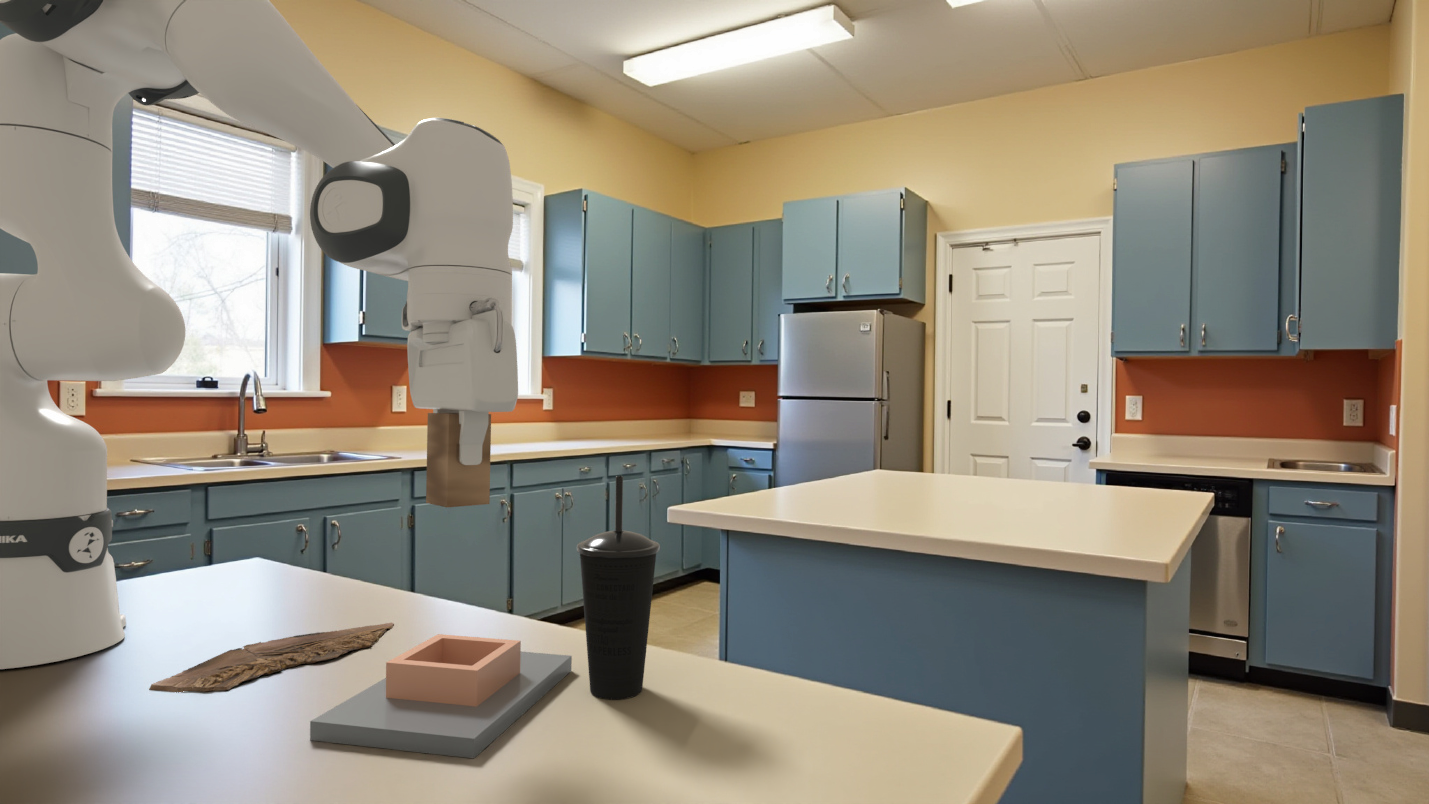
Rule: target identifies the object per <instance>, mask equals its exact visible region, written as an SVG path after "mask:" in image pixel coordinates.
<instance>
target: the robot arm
mask: <svg viewBox="0 0 1429 804" xmlns="http://www.w3.org/2000/svg"><path fill="white" fill-rule="evenodd" d="M0 23H1V24H2V25H3V26H5V27H6V28H8V29H9V30H10V31H12V32H14V33H12V34H8V35H5V36H4V37H2V38H1V39H0V229H1V230H2V231H4V232H5V233H7V234H10V235H11V236H13V237H15V238H17V239H20V240H21V241H22V242H23V241H24V242H26V243H27V244H30V246H31V248H32V249H33V251H34V254H35V258H36V262H37V273H35V274H27V273H26V274H23V273H5V272H3V273H1V272H0V670H5V669H6V670H7V669H15V668H24V667H31V666H32V667H33V666H38V665H44V664H49V663H54V662H60V661H65V660H69V659H75V658H77V657H82V656H84V655H88V654H92V653H95V652H99V651H101V650H104V649H107V648H109V647H112V646H114V645H115V644H117V643H119V642H121V641H122V640H123V639H124V638H125V636H126V633H125V631H124V627H125V626H126V625H127V619H126V615H125V614H121V610H120V602H119V595H118V594H119V593H118V586H117V584H118V583H117V577H116V570H115V569H116V568H115V562H114V561H115V560H114V558H113V556H112V555H111V554H110V552H109V548H108V547H109V544H110V543H111V542H112V540H113V528H114V520H113V519H112V518H113V517H112V516H113V515H112V510H111V509H110V508H109V507H108V504H107V503H108V446H107V444H106V441H105V439H104V438H103V436H102V435H101V434H100V433H99V431H98V430H96V428H94V427H93V426H92V425H90V424H89V423H86V422H85V421H82V420H80V419H78V418H76V417H74V416H71V415H68V414H67V413H65V412H63V411H62V410H61V409H60V408H59V407H58V406H57V405H56V403H55V401H54V400H53V398H52V396H51V394H50V390H49V386H48V381H72V382H73V381H74V382H76V381H79V382H81V381H82V382H87V381H88V382H117V381H124V380H125V381H126V380H131V379H138V378H139V379H140V378H143V377H144V378H145V377H150V376H155V375H161V374H163V373H164V372H167V370H168V369H170V368H171V367H172V365H173V364H174V363H175V362H176V361H177V359H178V358H179V356H180V354H181V353H182V350H183V348H184V344H185V341H186V324H185V320H184V316H183V314H182V312H181V309H180V308H179V306H178V304H177V303H176V301H175V300H174V299H173V297H172V296H171V295H170V294H169V293H168V292H166V290H164V289H163V288H162V287H160V286H159V285H157V284H156V283H155V282H153V281H152V280H150V279H149V278H148V277H147V276H146V275H145V274H144V273H143V272H142V271H141V270H140V269H139V268H138V266H136V265H135V263H134V262H133V260H132V259H131V258H130V256H129V255H128V253H127V251H126V249H125V247H124V246H123V242H122V241H121V239H120V238H121V237H120V235H119V234H118V230H117V226H116V222H115V220H116V219H115V213H114V198H113V196H114V195H113V194H114V193H113V153H114V151H113V120H114V119H113V118H114V112H115V108H116V106H117V104H118V103H119V101H121V99H123V98H124V97H125V96H126V95H127V94H128V95H129V96H130V97H131V98H132V99H133V100H134V101H136V102H137V103H138V104H140V105H143V106H155V105H157V104H158V103H161V102H162V101H164V100H180V99H187V98H191V97H193V96H195V95H198V94H200V95H201V96H202V97H203V98H205V99H206V100H207V101H208V102H209V103H211V104H213V106H215V107H216V108H218V109H219V110H220V111H221V112H222V113H225V114H226V115H228V116H229V117H231V118H233V119H235V120H237V121H238V122H241V123H242V124H245V125H247V126H249V127H252V128H254V129H256V130H259V131H261V132H263V133H266V134H268V135H269V136H273V137H275V138H277V139H280V140H281V141H284V142H286V143H288V144H290V145H293V146H294V147H296V148H298V149H301V150H303V151H305V152H307V153H309V154H310V155H312V156H313V157H315V158H317V159H319V160H320V161H322V162H323V163H326V164H327V165H328V166H329V167H331V169H330V170H329V171H328V172H327V173H325V174H324V175H323V176H322V178H321V179H320V180H319V182H318V184H317V185H316V187H315V189H314V192H313V194H312V197H311V200H310V202H311V203H310V208H309V219H310V220H309V221H310V226H311V231H312V234H313V237H314V239H315V241H316V243H317V245H318V247H319V248H320V249H321V251H322V252H323V253H324V254H325V255H326V256H327V257H328V258H330V259H331V260H333V261H335V262H338V263H340V264H343V265H344V266H347V267H350V268H353V269H357V270H361V271H365V272H369V273H373V274H376V275H380V276H383V277H387V278H391V279H392V278H393V279H396V280H400V281H401V280H402V281H406V282H407V286H408V287H407V294H406V301H405V304H404V306H403V307H402V310H401V329H402V330H404V331H408V332H409V334H408V335H407V347H406V348H407V364H408V365H407V367H408V368H407V369H408V381H409V382H408V383H409V385H408V386H409V393H410V397H411V401H412V405H413V407H414V408H416V409H426V410H432V411H433V412H432V413H459V424H461V430H460V440H459V444H457V456H456V458H457V462H458V463H460V464H463V465H478V464H480V463H481V461H482V444H483V441H484V438H485V434H486V431H487V428H488V414H490V413H502V412H503V413H509V412H513V411H514V410H515V408H516V405H517V401H518V398H519V397H518V396H519V381H518V380H519V373H518V353H517V341H516V334H515V329H514V326H513V324H512V321H513V318H512V316H513V313H512V311H513V270H512V265H511V262H510V258H509V243H510V239H511V236H512V232H513V227H514V206H513V205H514V200H513V198H514V197H513V196H514V195H513V181H512V172H511V164H510V160H509V155H508V152H507V150H506V147H505V145H504V143H502V142H501V140H499V138H497V137H495V136H494V135H493V134H491V133H490V132H488V131H486V130H484V129H483V128H481V127H479V126H477V125H473V124H470V123H466V122H464V121H461V120H456V119H452V118H445V117H431V118H426V119H423V120H421V121H419V122H417V124H416V125H414V127H413V128H412V129H411V131H410V133H408V135H407V136H406V137H405V138H404V139H402V140H401V141H399V143H397V144H395V142H393V141H392V139H391V138H390V137H389V136H388V135H387V134H386V133H385V132H384V131H383V130H382V129H381V128H380V127H379V126H378V125H377V124H376V123H375V122H374V121H373V120H372V119H371V118H370V117H369V116H368V115H367V114H366V113H365V111H363V109H362V108H360V106H359V105H358V104H357V103H356V102H355V101H354V100H353V99H352V97H351V96H350V95H349V94H348V92H347V91H346V90H345V89H344V88H343V87H342V85H341V84H340V83H339V82H338V81H337V80H336V79H335V77H334V76H333V75H332V74H331V73H330V71H328V69H327V68H326V67H325V66H324V65H323V64H322V63H321V61H320V60H319V59H318V57H317V56H316V55H315V54H314V53H313V51H312V50H311V49H310V48H309V47H308V45H307V44H306V43H305V41H303V39H302V38H301V37H300V36H299V34H298V33H297V32H296V30H295V29H294V28H293V27H292V26H291V25H290V23H289V22H288V21H287V20H286V18H285V17H284V16H283V15H282V14H281V12H280V11H279V10H278V9H277V8H276V7H275V5H274V4H273V3H272V2H271V1H270V0H0Z"/></svg>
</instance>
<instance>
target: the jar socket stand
mask: <svg viewBox="0 0 1429 804" xmlns="http://www.w3.org/2000/svg"><path fill="white" fill-rule="evenodd" d="M521 646H522V645H521V640H517V639H516V640H515V639H503V638H492V637H491V638H489V637H478V636H466V635H453V634H442V633H441V634H440V633H439V634H436V635H434V636H432V637H431V638H428V639H426V640H425V641H423V642H422V643H418V645H416V646H414V647H412V648H411V649H409V650H406V651H404V652H403V653H401V654H399V655H397V656H395V657H394V658H391V659H390V660H388V661H386V662H385V678H383V679H381V680H379V681H378V682H376V683H374V684H372V685H370V686H369V687H367V688H365V689H364V690H362V691H360V692H358V693H357V694H355V695H354V696H352V697H350V698H348V699H346V700H345V701H343V702H340V704H338V705H336V706H334V707H333V708H331V709H329V710H327V711H326V712H324V713H322V714H320V715H318V716H317V717H315V718H313V719H312V720H310V721H309V722H310V725H309V726H310V728H309V730H310V732H309V736H310V737H309V739H310V741H316V742H324V743H325V742H326V743H331V744H332V743H333V744H342V745H343V744H344V745H351V746H352V745H353V746H361V747H368V748H376V749H377V748H378V749H387V750H394V751H395V750H396V751H404V752H405V751H406V752H413V753H421V754H422V753H423V754H432V755H438V756H450V757H458V758H468V759H475V758H476V757H477V756H478V755H479V754H481V752H483V751H484V750H485V749H486V748H487V747H489V745H491V744H492V743H493V742H494V741H496V739H497V738H498V737H500V736H501V735H502V734H503V733H504V732H505V731H506V730H507V729H508V728H509V727H511V725H513V724H514V723H515V722H516V721H517V720H518V719H519V718H520V717H522V716H523V715H524V714H525V713H526V712H527V711H528V710H530V709H531V708H532V707H533V706H534V705H535V704H536V703H538V702H539V700H540V699H541V698H543V697H544V696H545V695H546V694H548V693H549V692H550V691H551V690H552V689H553V688H554V687H555V686H556V685H557V684H559V683H560V682H561V680H563V679H564V678H565V677H566V676H567V675H568V674H570V673H571V672H572V665H573V664H572V660H573V659H572V656H573V655H570V654H569V655H568V654H567V655H566V654H558V653H557V654H555V653H546V652H545V653H543V652H534V651H533V652H531V651H521V650H522V649H521Z"/></svg>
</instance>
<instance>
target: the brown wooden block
mask: <svg viewBox="0 0 1429 804" xmlns="http://www.w3.org/2000/svg"><path fill="white" fill-rule="evenodd" d="M426 426H427V427H426V428H427V429H426V430H427V431H426V433H427V434H426V435H427V436H426V439H427V440H426V442H427V443H426V478H425V479H426V483H425V486H426V487H425V490H426V491H425V503H426V504H429V505H435V506H439V507H444V508H456V507H457V508H458V507H469V506H482V505H490V499H491V497H490V496H491V494H490V493H491V492H490V490H491V489H490V487H491V446H492V445H491V443H492V442H491V441H492V440H491V439H492V438H491V436H492V413H488V428H487V431H486V434H485V438H484V441H483V444H482V461H481V463H480V464H478V465H463V464H460V463H458V462H457V458H456V456H457V444H459V440H460V430H461V424H459V413H433V412H427V425H426Z"/></svg>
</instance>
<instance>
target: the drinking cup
mask: <svg viewBox="0 0 1429 804" xmlns="http://www.w3.org/2000/svg"><path fill="white" fill-rule="evenodd" d="M623 495H624V476H623V475H615V500H614V501H615V502H614V503H615V504H614V505H615V507H614V508H615V509H614V511H615V514H614V530H609V531H604V532H600V533H598V534H597V533H596V534H595V535H593V536H591V537H589V538H587V539H586V540H582V541H580V542H579V543H577V545H576V551H577V553H579V558H580V560H579V561H580V571H581V585H582V597H583V598H582V599H583V612H584V624H585V625H584V627H585V636H586V637H585V639H586V653H587V663H588V664H587V665H588V679H589V680H588V681H589V691H590V693H591V695H592V696H594V697H596V698H599V699H604V700H625V699H630V698H633V697H637V695H640V694H641V693H642V691H643V685H644V674H645V665H646V657H647V655H646V654H647V647H648V646H647V645H648V635H649V626H650V616H651V607H652V600H653V599H652V598H653V588H654V578H655V569H656V559H657V554H658V552H659V551H660V548H661V546H660V543H659V542H657V541H655V540H652V539H650V538H648V537H647V536H645V535H643V534H641V533H638V532H634V531H629V530H623V514H624V513H623V508H624V507H623V505H624V504H623V503H624V501H623V499H624V498H623V497H624V496H623Z"/></svg>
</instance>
